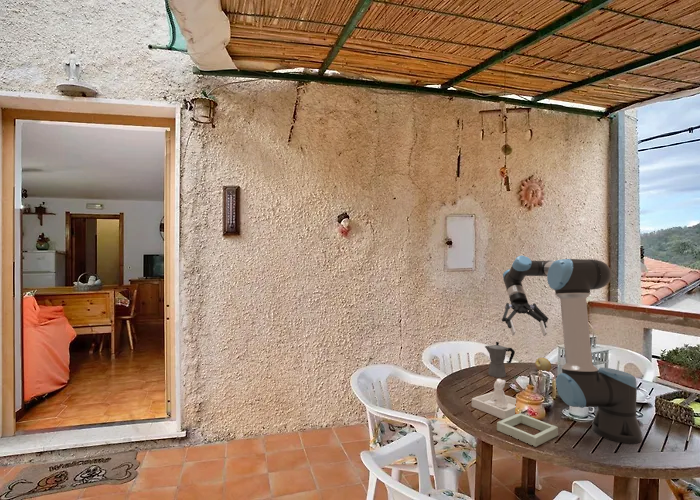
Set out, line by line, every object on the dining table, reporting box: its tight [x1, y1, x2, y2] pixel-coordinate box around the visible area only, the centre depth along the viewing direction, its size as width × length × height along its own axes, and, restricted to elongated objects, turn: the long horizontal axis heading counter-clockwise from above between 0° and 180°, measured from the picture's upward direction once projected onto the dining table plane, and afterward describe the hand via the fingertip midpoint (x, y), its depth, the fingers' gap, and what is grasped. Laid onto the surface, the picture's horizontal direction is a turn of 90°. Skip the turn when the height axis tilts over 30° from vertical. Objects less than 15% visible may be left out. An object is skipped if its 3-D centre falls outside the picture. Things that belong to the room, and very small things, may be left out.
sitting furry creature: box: [485, 378, 508, 409], centre depth 166 cm, size 10×9×12 cm
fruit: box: [534, 357, 552, 372], centre depth 218 cm, size 8×8×8 cm
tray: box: [471, 390, 517, 420], centre depth 166 cm, size 16×16×4 cm
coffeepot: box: [484, 341, 516, 379], centre depth 211 cm, size 15×9×18 cm, turn 59°
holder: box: [496, 413, 559, 448], centre depth 144 cm, size 15×15×3 cm
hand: (529, 334), depth 174 cm, fingers open, 13 cm apart
